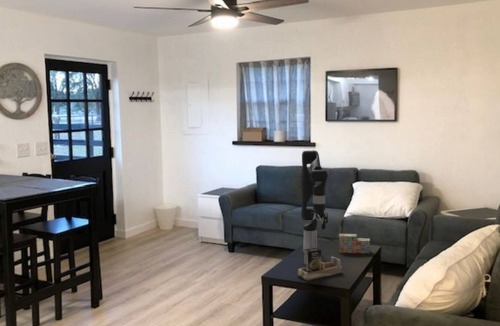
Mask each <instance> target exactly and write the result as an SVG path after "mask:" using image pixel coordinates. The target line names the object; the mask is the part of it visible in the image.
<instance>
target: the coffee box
mask: <svg viewBox="0 0 500 326" xmlns="http://www.w3.org/2000/svg"><path fill="white" fill-rule="evenodd" d="M321 262H322V249H321V248H318V247H317V248H309V249H304V252H303V268H304V271H305V272H307V273H310V272H314V271H319V270H321Z"/></svg>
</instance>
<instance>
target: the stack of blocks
mask: <svg viewBox="0 0 500 326" xmlns="http://www.w3.org/2000/svg"><path fill="white" fill-rule="evenodd" d="M357 236H358V235H357V233H339V234H338V252H339V253H342V254H343V253H345V254H371V239H370V238H361V237H359V238H358V237H357Z"/></svg>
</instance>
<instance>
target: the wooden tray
mask: <svg viewBox="0 0 500 326" xmlns="http://www.w3.org/2000/svg"><path fill="white" fill-rule="evenodd" d="M323 263H324V268H325V269H323V270H319V271H314V272H310V273H307V272H305V271H304V267H300V268H297V276H298V277H299V278H302V280H303V279H304V280H305V281H308V282H309V281H312V280H317V279H321V278H325V277H330V276H333V275H337V274H342V273H343V271H342V270H343V266H342V265H341V259H340V258H338V257H334V256H330V261H328V262H323Z"/></svg>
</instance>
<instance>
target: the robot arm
mask: <svg viewBox="0 0 500 326" xmlns="http://www.w3.org/2000/svg"><path fill="white" fill-rule="evenodd" d="M301 164H302V166H301V167H302V168H301V169H302V178H301V196H302V197H301V212H300V215H301V219H302V220H303V221H310V222H309V223H306V224H304V225H303V238H302V246H303V247H302V248H303V249H302V251H303V253H304V249H309V248H318V232H317V231H318V227H317V226H318V219H319V221H321V230H326V224H328V223H329V218H328V217H329V216H328V212H325V210H326V185H327V184H326V183H327V180H328V178H329V174H328V171H327V170H325V169H323V167H322V165H321V162H320V154H319V152H318V151H317V150H311V149H310V150H303V151H302V153H301ZM308 165H309V168H308ZM309 169H310V170H309ZM317 182H320V183H319V184H317ZM311 199H312V206H308V203H309V202H310V200H311Z"/></svg>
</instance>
